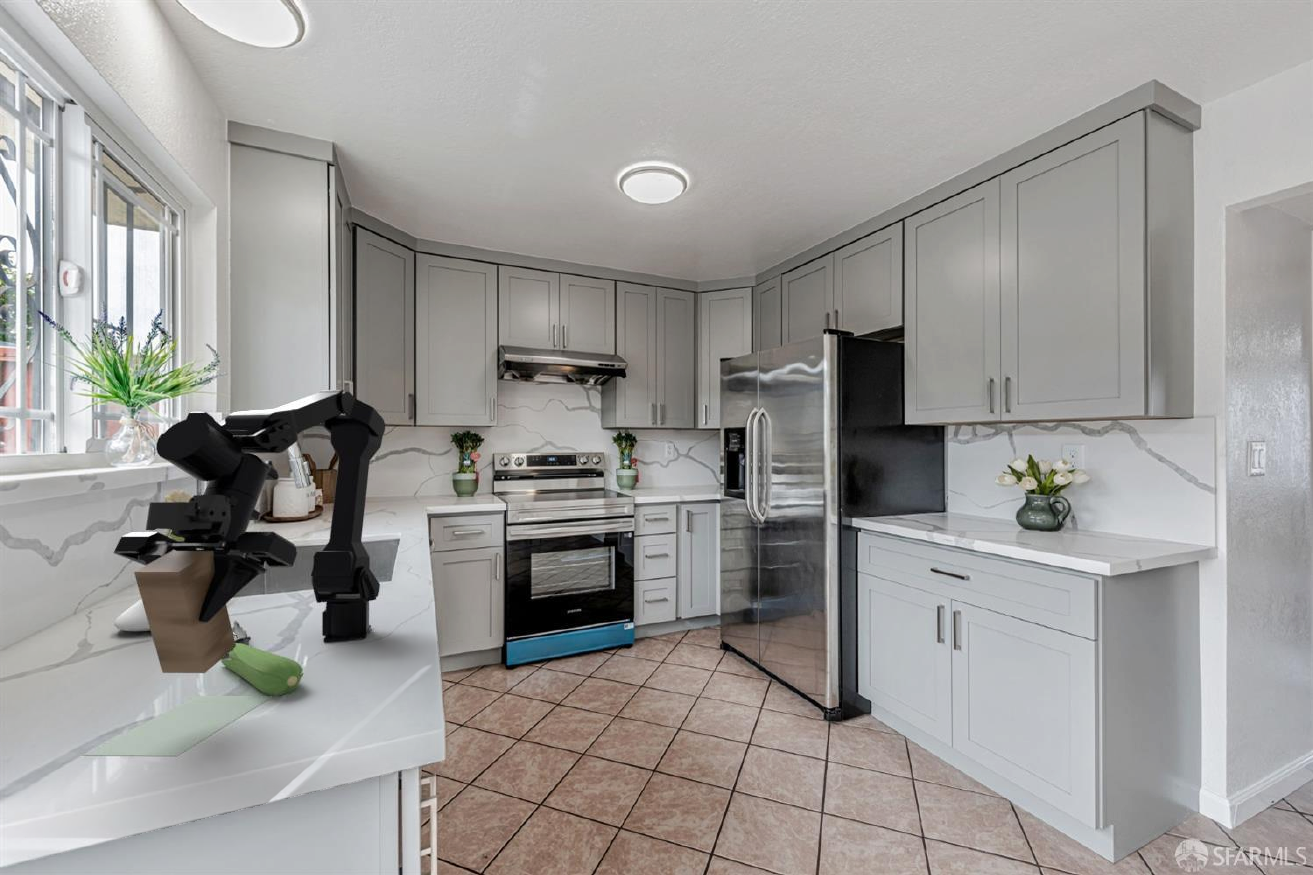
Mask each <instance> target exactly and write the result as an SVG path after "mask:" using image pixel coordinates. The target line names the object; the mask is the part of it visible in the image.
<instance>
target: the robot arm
mask: <svg viewBox="0 0 1313 875" xmlns="http://www.w3.org/2000/svg"><path fill="white" fill-rule="evenodd" d="M319 424H321V427H323V429H325V430H326V431H327V432H328V433H329V434H330V436H329V437H330V445H331V447H332V449H333V450H334V452H335V454H336V455H337V457H338V460H337V462H338V464H337V470H336V471H337V472H336V479H335V481H336V482H335V486H334V488H335V489H334V495H333V496H334V497H333V506H332V515H331V524H330V531H329V532H330V533H329V540H328V542H327V544H326V545H325V546H324V548H323V549H322V550H317V551H315V553H314V555H313V566H312V571H311V574H310V577H311V584H312V588H313V589H312V590H313V593H314V597H315V600H316V603H318V604H320V603H325V609H324V610H323V611H322V612H321V613H322V614H321V615H322V616H321V617H322V620H321V621H322V622H321V623H322V624H321V626H322V627H321V628H322V633H321V635H322V637H324V638H323V639H322V641H323V643H327V642H328V643H329V642H331V643H332V642H337V641H340V642H341V641H349V640H358V639H365V638H367V636H368V635H369V634H370V633H369V632H370V631H371V629H372V625H371V624H370V602H371V601H375V600H377V597H378V596H379V594H380V587H381V584H380V582H379V581H378V579H377V578H376V576H375V574H374V573H373V571H372V570H371V568H370V562H371V561H370V560H371V558H370V555H369V553H368V552H367V549H366V548H365V546H364V545H363V543H362V538H363V528H364V527H363V526H364V518H365V508H366V497H367V489H368V481H369V480H368V478H369V470H370V461H371V460H372V459H373V457H374V456H375V455H376V453H377V452H378V451H379V450H380V449H381V446H382V443H383V442H382V441H383V436H384V435H385V431H386V423H385V419H384V418H383V417H382V416H381V415H380V413H379V412H378V411H377V409H376V408H375V407H373V406H371V405H369V404H367V403H366V402H363V401H362V400H359V399H357V398H355V396H354V395H353V394H352V393H351V392H350V391H346V390H345V389H325V390H324V389H321V390H319V391H317V392H316V391H315V393H314V394H312V395H308V396H306V397H303V398H301V399H298V400H295V401H292V402H290V403H287V404H283V405H281V406H279V407H275V408H271V409H270V408H269V409H256V410H254V409H253V410H243V411H234V412H232V413H229V414H228V415H227V416H226V417H225V418H224V422H222V423H221V424H220V423H218V421H216V420H215V418H214V417H213V416H212V415H210V414H209V413H208V412H206V411H191V412H188V414H187V416H186V418H185V419H184V420H181V421H178V422H177V423H175V424H173V425H171V426H170V427H168V429H167V430H165V432H164V433H161V434H160V436H159V437H158V439H157V442H156V449H155V450H156V453H157V454H158V455H159V457H160V458H162V459H164V460H165V461H167V462H168V463H169V464H171V465H173V466H175V467H177V468H178V469H180V470H181V471H183V472H185V473H186V474H188V475H190V476H191V477H193V478H194V479H196V480H197V481H201V482H202V481H203V482H208V483H207V484H206V487H205V490H204V492H203V494H201V495H197V494H196V495H195V494H194V495H193V496H191V499H190V500H189V502H164V501H161V502H160V501H153V502H152V501H151V502H149V506H148V513H147V520H146V524H145V531H137V532H136V531H131V532H128V533H127V534H124V535H122V536H121V537H120V539H119V541H118V542H117V545H116V546H115V549H114V551H113V554H115V555H118V556H121V557H123V558H126V559H128V560H131V561H133V562H136V563H138V564H141V565H144V566H146V565H147V564H149V563H151V562H153V561H155V560H157V559H158V558H160V557H162V556H164V555H166V554H167V553H169V552H171V551H213V553H214V555H213V559H214V567H215V574H214V577H213V579H212V582H211V584H210V587H209V590H208V592H207V595H206V597H205V600H204V603H203V605H202V608H201V612H200V616H199V621H201V622H208V621H210V620H211V619H212V618H213V617H214V616H215V615H216V614H217V613H218V612H219V611H220V610H221V609H222V608H223V607H224V606H225V605H226V606H227V604H228V603H229V601H231V600H232V599H233V598H234V597H235V596H236V595H237V594H238V593H239V592H240V591H241V590H242V589H243V588H244V587H246V586H247V585H248V584H249V583H250V582H252V581H253V579H255V578H256V577H258V576H259V575H263V574H266V572H267V570H268V569H267V568H266V567H264V566H265V563H266V564H267V566H268V567H270V568H292V567H293V566H294V564H295V561H296V558H297V555H298V552H297V548H296V545H295V544H294V543H293V542H291V541H290V540H289V539H287V538H284V537H283V536H282V535H280V534H279V533H277V532H275V531H247V529H248V526H249V524H250V521H259V518H260V516H261V512H259V510H257V509H256V506H257V504H258V500H259V498H260V496H261V493H262V490H263V487H264V485H265V483H266V481H277V480H279V472H278V470H277V469H276V468H275V466H274V465H273V461H272V460H263V459H261V458H260V456H258V455H257V454H281V453H284V452H285V451H287V450H288V449H289V448H290V447H292V446H293V445H294V444H295V443H296V442H297V441H298V440H299V434H301V433H302V432H304V431H306V430H309V429H311V428H314V427H315V426H319ZM297 443H298V442H297ZM169 529H170V530H171V531H170V533H171V534H173V535H175V536H177V537H183V538H185V539H184V541H176V540H174V539H172V538H171V537H170V536H168V537H167V536H166V535H165V534H163V533H161V532H159V531H155V530H169Z"/></svg>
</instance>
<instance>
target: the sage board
mask: <svg viewBox="0 0 1313 875" xmlns="http://www.w3.org/2000/svg"><path fill="white" fill-rule="evenodd" d="M273 697H274V695H196V696H194V697H193V698H190V699H189V700H187V701H185V702H182V703H181V704H179V705H177V706H175V707H173V708H171V709H169V710H167V711H165V712H164V713H162V714H159V715H158V716H156V717H154V718H152V719H150V720H148V721H146V722H144V723H142V724H141V725H138V726H137V727H134V728H132V729H131V730H129V731H127V732H125V733H123V734H121V735H119V736H117V737H115V738H114V739H112V740H110V741H108V742H106V743H104V744H102V745H100V746H98V747H96V748H95V749H93V750H90V751H88V752H87V753H85V754H83V756H84V757H85V756H89V757H90V756H92V757H93V756H101V757H103V756H104V757H105V756H106V757H108V756H110V757H115V756H117V757H178V756H180V755H181V754H183V753H184V752H186V751H188V750H189V749H191V748H192V747H195V746H196V745H197V744H199V743H201V742H203V741H204V740H205V739H207V738H209V737H210V736H212V735H214V734H215V733H216V732H218V731H220V730H221V729H223V728H225V727H226V726H228V725H230V724H232V723H233V722H235V721H236V720H237V719H240V718H241V717H243V716H245V715H246V714H248V713H250V712H251V711H252V710H254V709H256V708H257V707H259V706H260V705H262V704H263V703H265V702H267V701H268V700H270V699H271V698H273Z"/></svg>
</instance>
